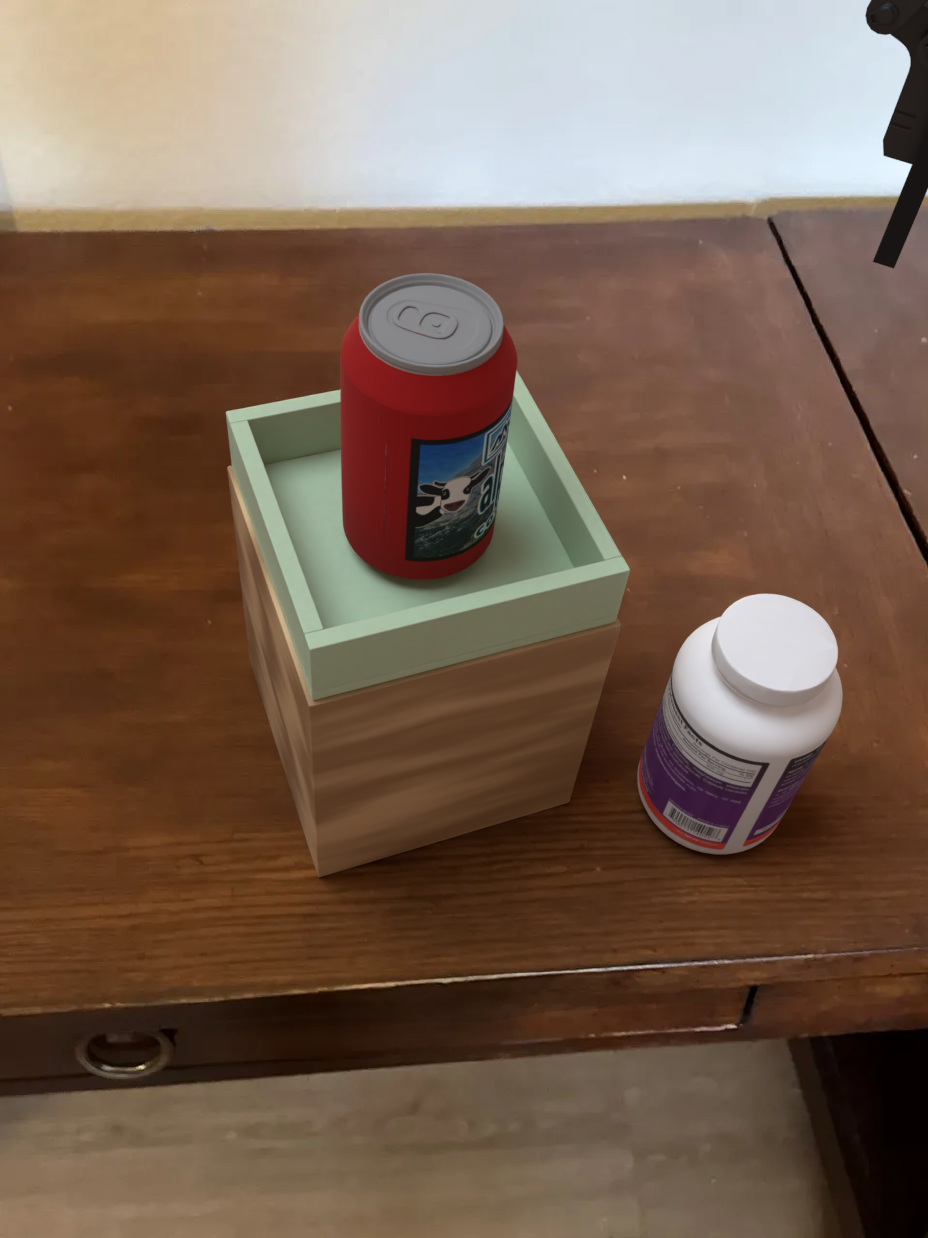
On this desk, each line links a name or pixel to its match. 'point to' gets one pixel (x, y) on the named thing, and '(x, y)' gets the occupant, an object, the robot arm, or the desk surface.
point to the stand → (420, 732)
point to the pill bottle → (740, 724)
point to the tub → (406, 608)
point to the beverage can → (424, 424)
